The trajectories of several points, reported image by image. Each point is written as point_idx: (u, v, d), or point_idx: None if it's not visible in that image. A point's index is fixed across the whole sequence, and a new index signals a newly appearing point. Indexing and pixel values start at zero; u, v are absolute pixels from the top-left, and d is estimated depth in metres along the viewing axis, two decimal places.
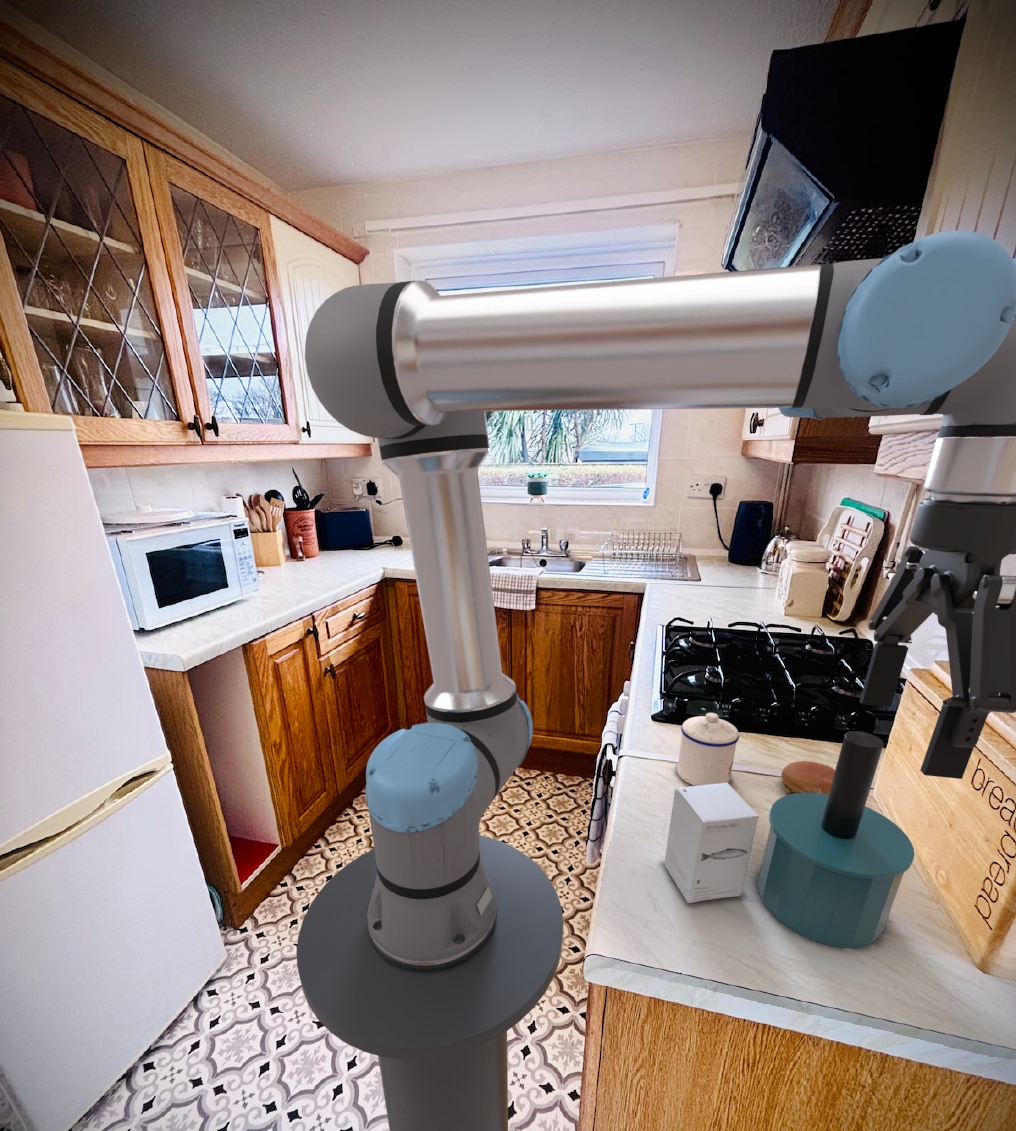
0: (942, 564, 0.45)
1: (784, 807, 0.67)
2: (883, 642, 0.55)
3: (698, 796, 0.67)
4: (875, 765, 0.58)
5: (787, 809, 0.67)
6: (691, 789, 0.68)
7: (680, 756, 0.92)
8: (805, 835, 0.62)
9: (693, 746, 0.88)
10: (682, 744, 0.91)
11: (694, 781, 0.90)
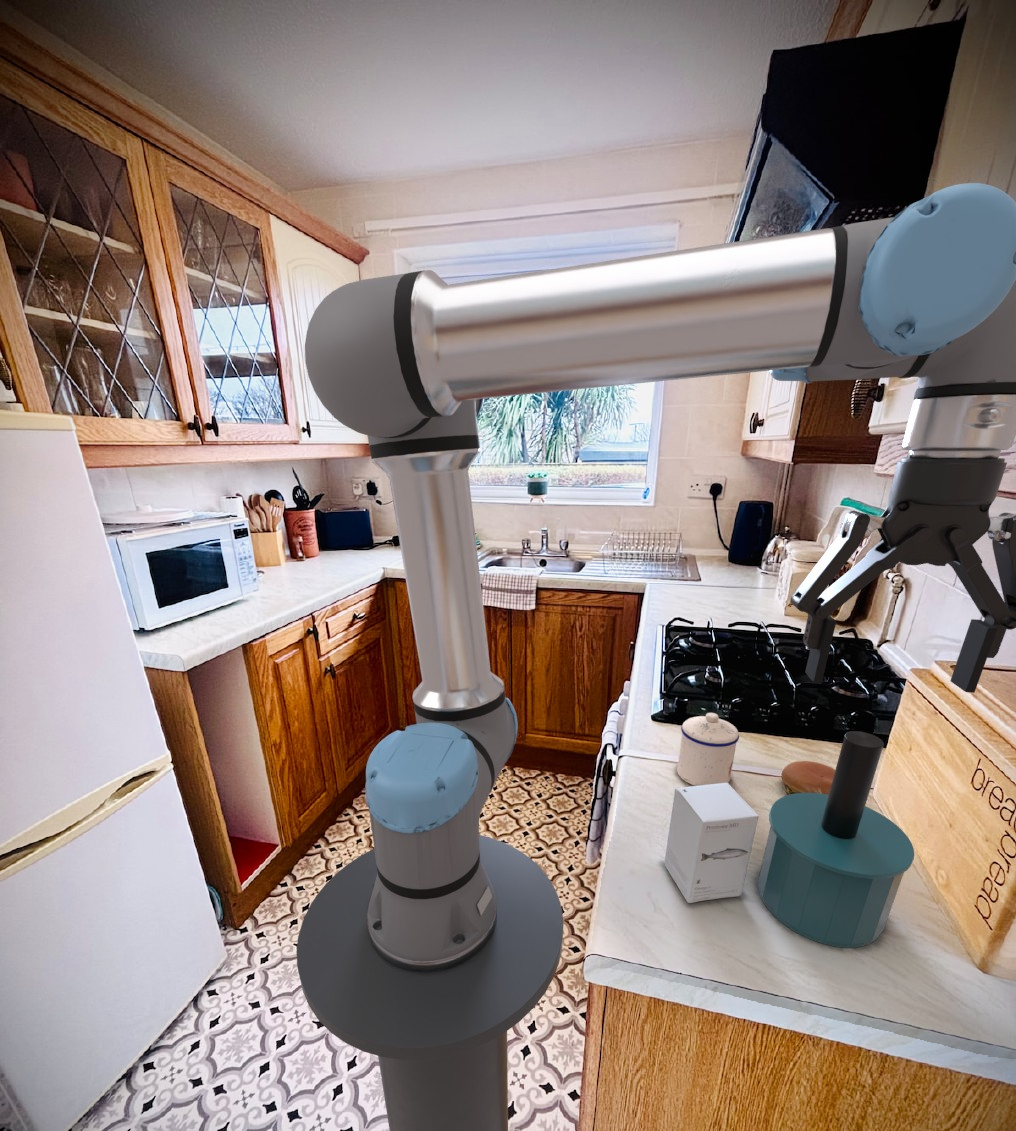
0: None
1: (784, 807, 0.67)
2: (984, 620, 0.52)
3: (698, 796, 0.67)
4: (875, 765, 0.58)
5: (787, 809, 0.67)
6: (691, 789, 0.68)
7: (680, 756, 0.92)
8: (805, 835, 0.62)
9: (693, 746, 0.88)
10: (682, 744, 0.91)
11: (694, 780, 0.90)
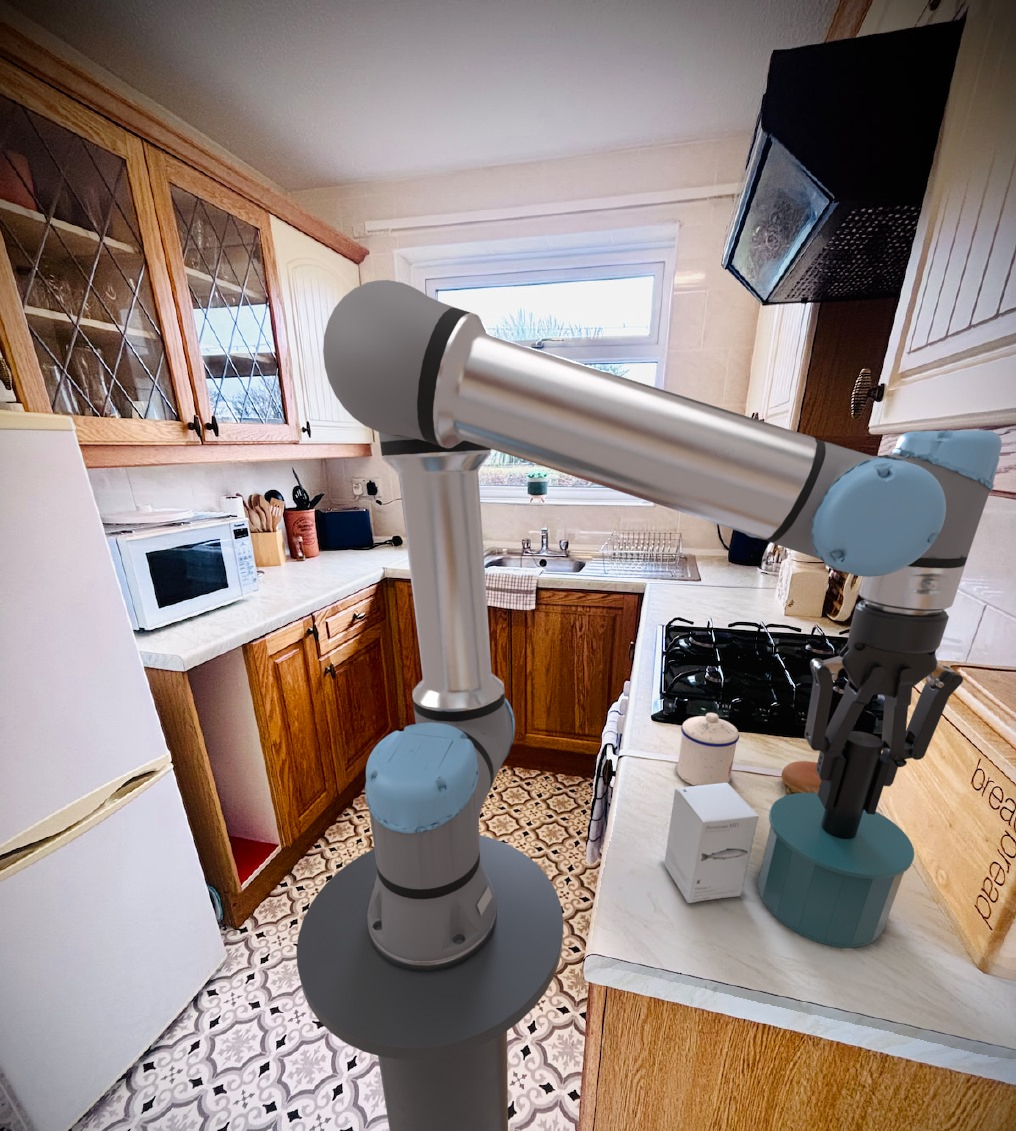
0: None
1: (784, 807, 0.67)
2: (882, 753, 0.59)
3: (698, 796, 0.67)
4: (875, 765, 0.58)
5: (787, 809, 0.67)
6: (691, 789, 0.68)
7: (680, 756, 0.92)
8: (805, 835, 0.62)
9: (693, 746, 0.88)
10: (682, 744, 0.91)
11: (694, 781, 0.90)
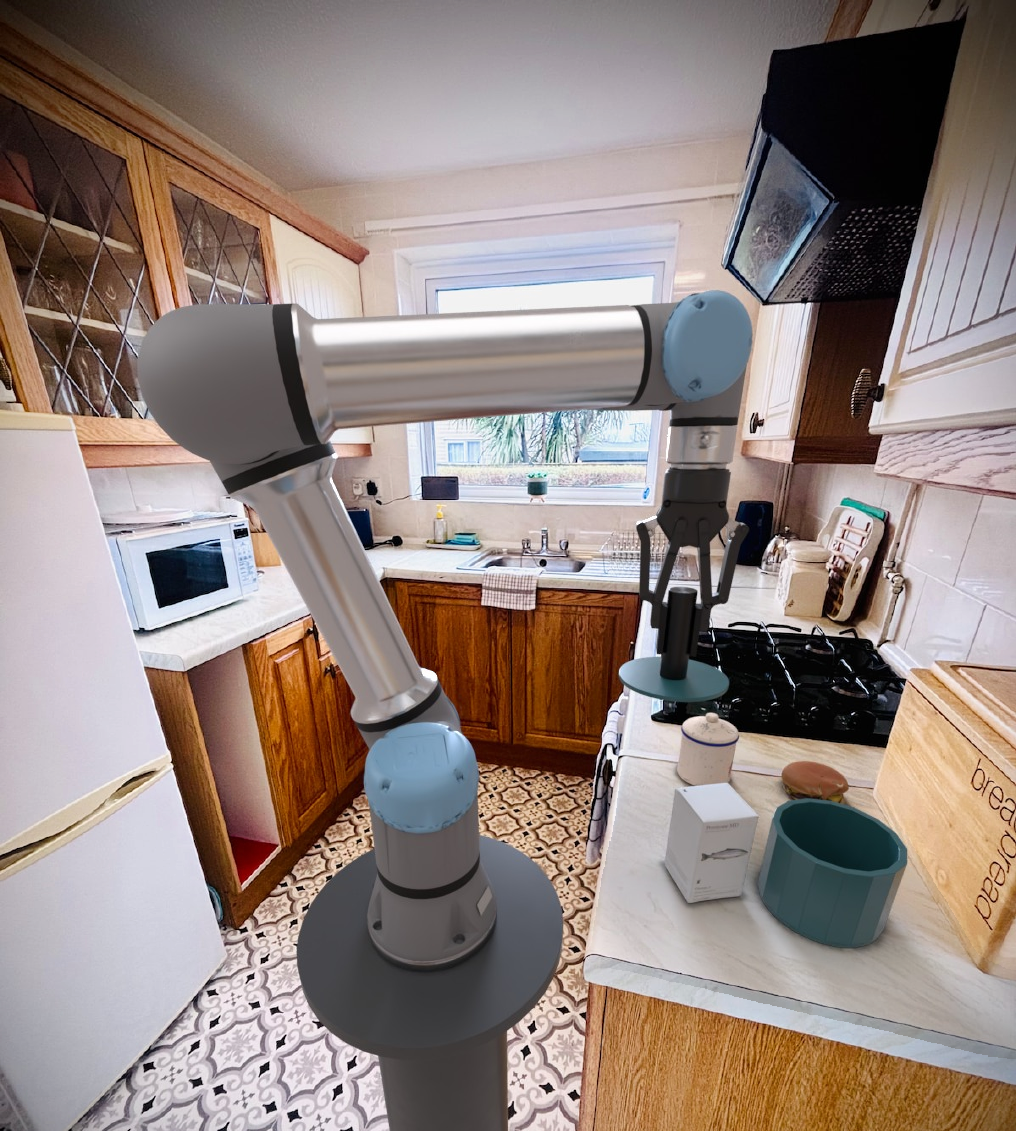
0: None
1: (635, 664, 0.79)
2: None
3: (698, 796, 0.67)
4: (691, 610, 0.70)
5: (636, 665, 0.79)
6: (691, 789, 0.68)
7: (680, 756, 0.92)
8: (642, 678, 0.74)
9: (693, 746, 0.88)
10: (682, 744, 0.91)
11: (694, 780, 0.90)
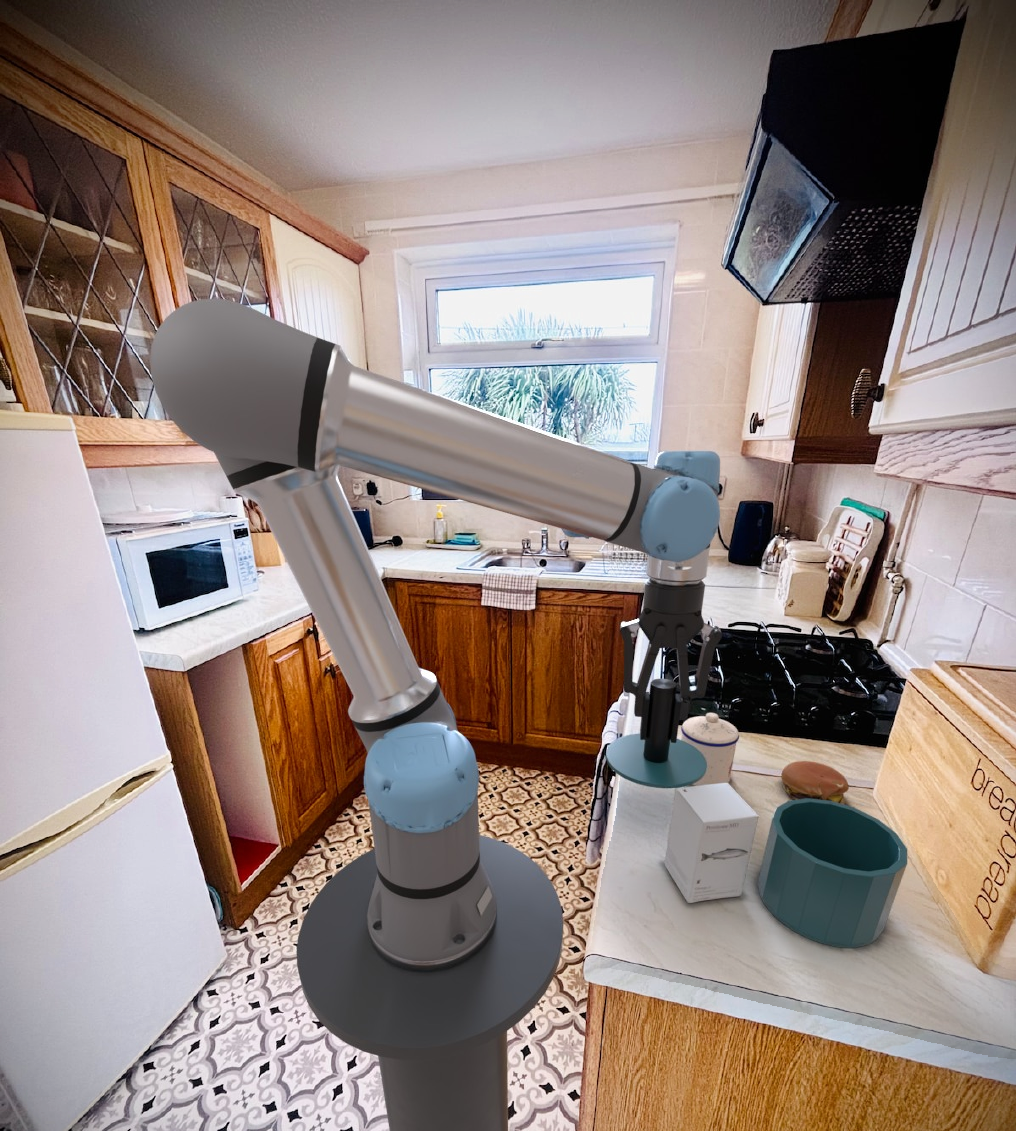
0: None
1: (621, 743, 0.85)
2: (680, 695, 0.77)
3: (698, 796, 0.67)
4: (671, 703, 0.76)
5: (623, 744, 0.85)
6: (691, 789, 0.68)
7: None
8: (627, 760, 0.80)
9: None
10: None
11: None
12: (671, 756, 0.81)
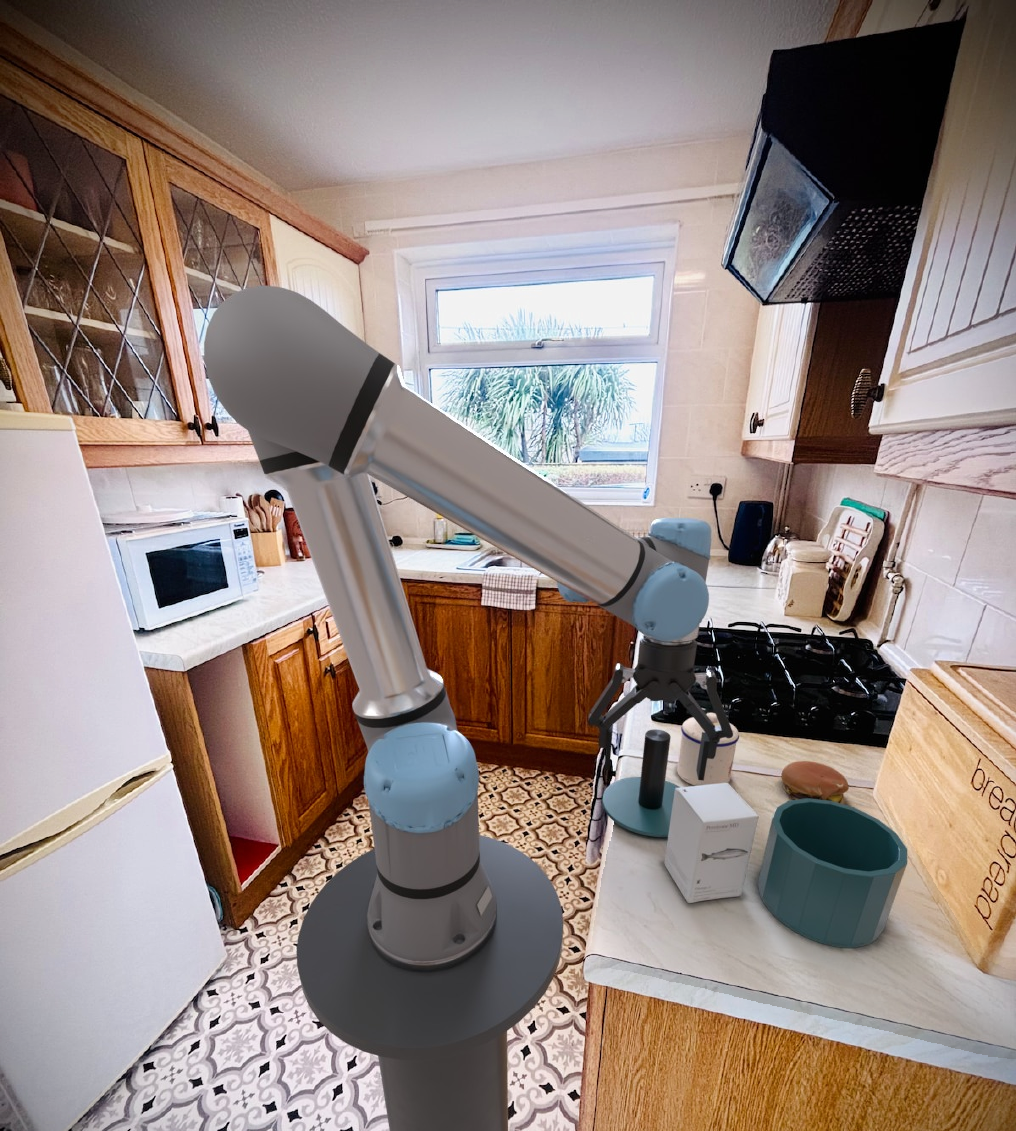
0: None
1: (617, 787, 0.88)
2: None
3: (698, 796, 0.67)
4: (664, 754, 0.79)
5: (619, 788, 0.88)
6: (691, 789, 0.68)
7: (680, 756, 0.92)
8: (623, 807, 0.83)
9: (693, 746, 0.88)
10: (682, 744, 0.91)
11: (694, 781, 0.90)
12: (665, 802, 0.84)
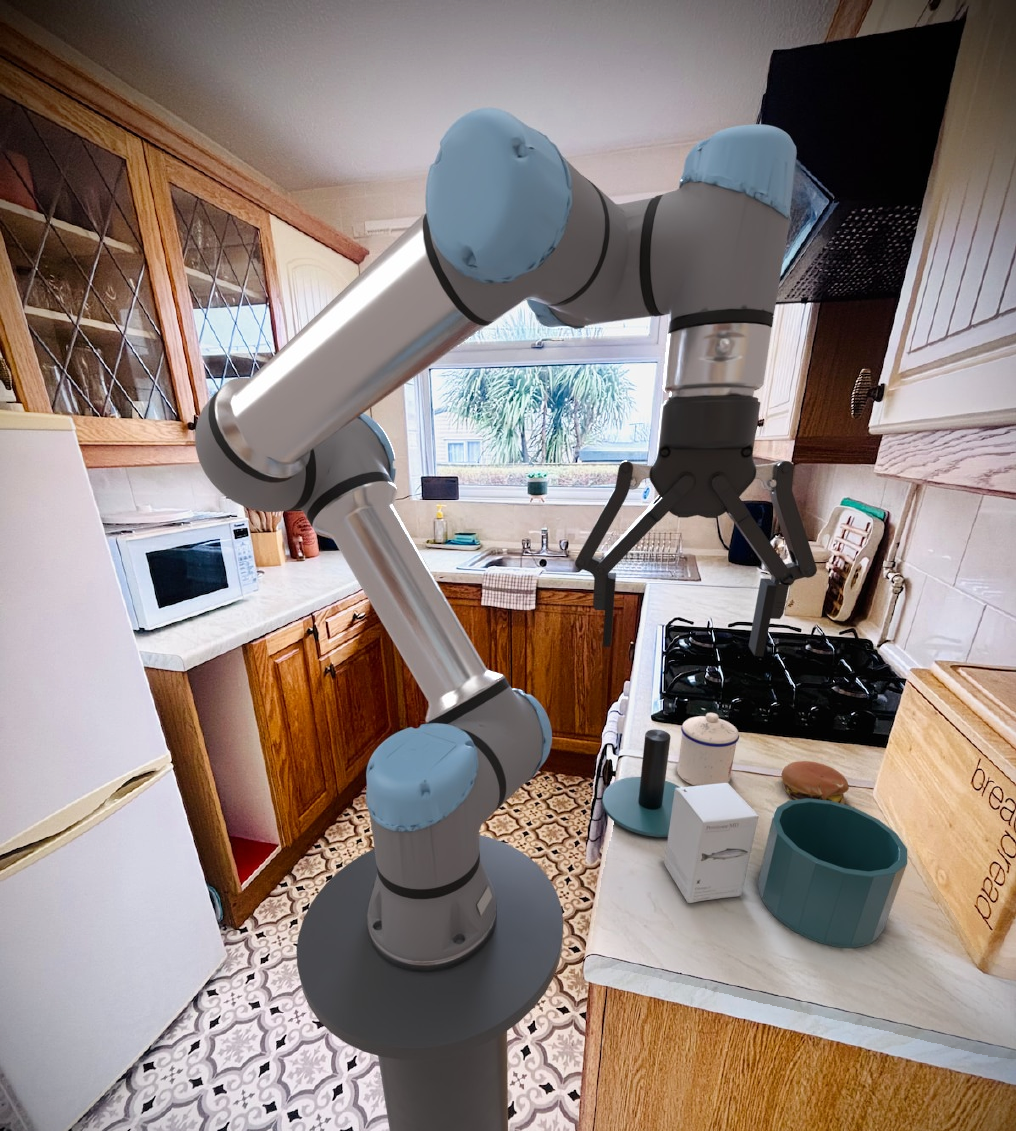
0: None
1: (617, 787, 0.88)
2: (771, 578, 0.48)
3: (698, 796, 0.67)
4: (664, 754, 0.79)
5: (619, 788, 0.88)
6: (691, 789, 0.68)
7: (680, 756, 0.92)
8: (623, 807, 0.83)
9: (693, 746, 0.88)
10: (682, 744, 0.91)
11: (694, 781, 0.90)
12: (665, 802, 0.84)
